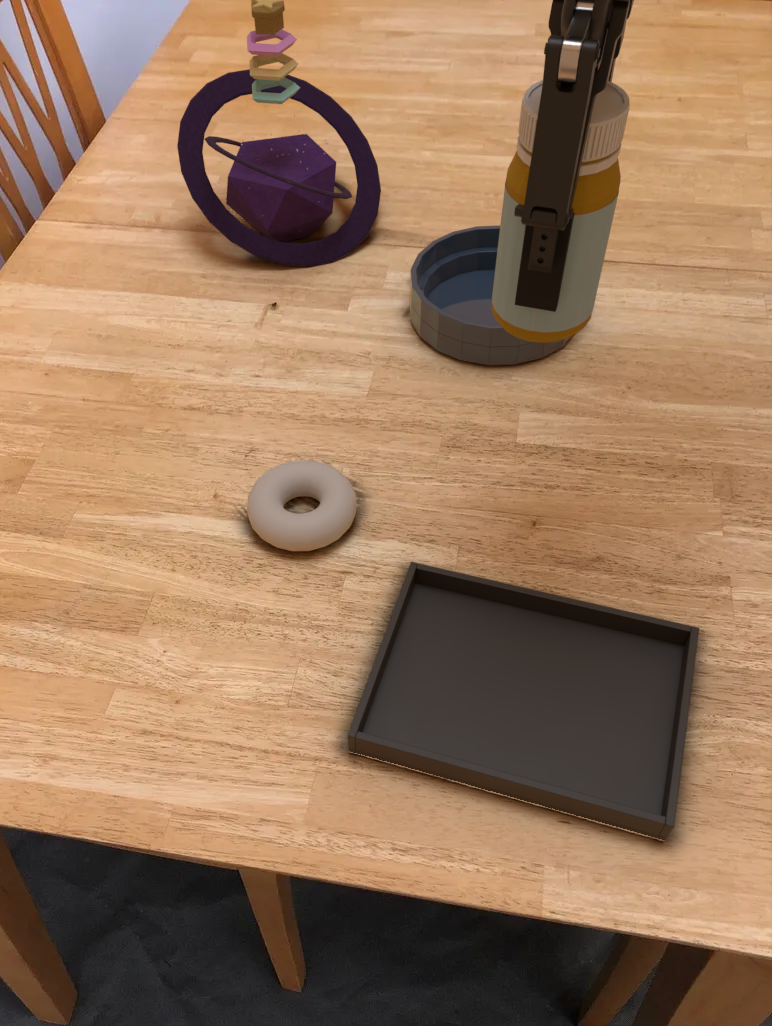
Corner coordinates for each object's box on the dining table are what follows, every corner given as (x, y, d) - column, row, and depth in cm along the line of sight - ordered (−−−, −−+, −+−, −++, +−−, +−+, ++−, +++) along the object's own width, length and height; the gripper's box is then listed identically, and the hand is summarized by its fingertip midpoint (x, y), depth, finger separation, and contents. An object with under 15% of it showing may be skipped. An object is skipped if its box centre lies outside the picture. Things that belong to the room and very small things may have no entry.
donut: (238, 554, 82) (348, 564, 81) (232, 528, 80) (346, 538, 78) (262, 474, 88) (365, 482, 87) (257, 448, 86) (364, 455, 84)
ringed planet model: (225, 299, 105) (189, 66, 85) (174, 209, 117) (132, -14, 97) (405, 250, 109) (410, 16, 89) (338, 167, 121) (330, -55, 101)
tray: (689, 647, 74) (699, 627, 72) (664, 843, 64) (674, 827, 62) (410, 581, 79) (411, 561, 77) (348, 753, 70) (347, 735, 68)
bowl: (591, 278, 104) (599, 238, 100) (561, 381, 94) (569, 340, 90) (434, 255, 108) (436, 215, 104) (389, 351, 98) (390, 311, 94)
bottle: (496, 283, 68) (521, 68, 56) (592, 291, 67) (639, 74, 55) (484, 341, 64) (509, 124, 52) (587, 352, 63) (636, 132, 51)
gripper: (579, -209, 51) (526, 188, 69) (492, -81, 40) (456, 351, 58) (721, -204, 49) (627, 203, 67) (670, -68, 38) (575, 373, 56)
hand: (548, 271), depth 63 cm, fingers closed on bottle, 7 cm apart
